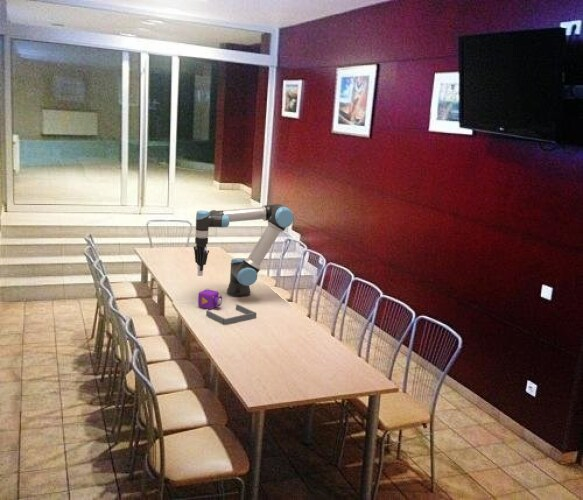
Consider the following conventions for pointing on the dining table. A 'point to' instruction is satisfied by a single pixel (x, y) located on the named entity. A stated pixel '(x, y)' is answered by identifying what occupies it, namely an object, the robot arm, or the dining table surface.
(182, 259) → the dining table surface
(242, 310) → the gray bracket frame
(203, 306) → the toy camera
